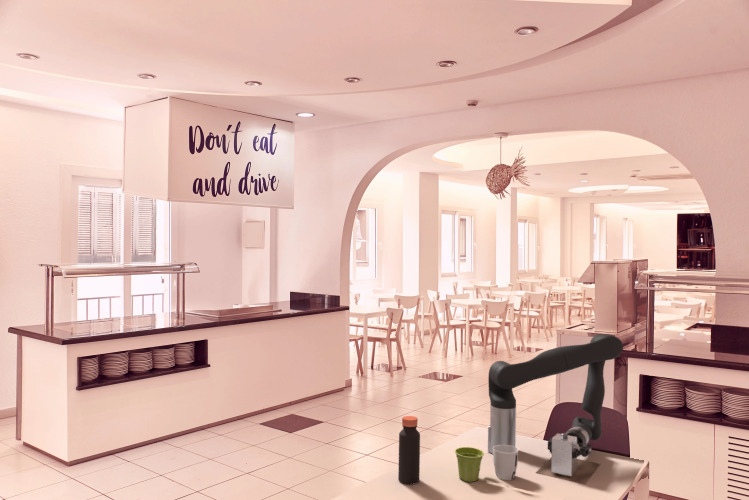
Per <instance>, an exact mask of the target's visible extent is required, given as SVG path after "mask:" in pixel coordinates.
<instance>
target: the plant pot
mask: <svg viewBox="0 0 749 500" xmlns="http://www.w3.org/2000/svg"><path fill="white" fill-rule="evenodd" d="M454 453H455V455H456V456H455V457H456V459H457V468H458V469H457V470H458V476H459V479H460V480H462V481H464V482H467V483H468V482H469V483H472V482H477V481H478V480H479V477H480V469H481V464H482V460H483V457H484V456H485V452H484V451H483V450H481V449H480V448H476V447H472V446H471V447H470V446H464V447H463V446H462V447H461V446H460V447H457V448H455V450H454Z"/></svg>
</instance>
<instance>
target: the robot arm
mask: <svg viewBox="0 0 749 500" xmlns="http://www.w3.org/2000/svg"><path fill="white" fill-rule="evenodd" d="M623 351H624V344H623V342H622V340H621V339H620V338H619V337H617V336H615V335H611V334H607V333H606V334H605V333H597V334H595V335H593V337H592V338H591V340H590V342H588V343H585V344H574V345H571V344H570V345H565V346H558V347H554V348H552V349H547V350H545V351H542V352H540V353H539V354H537V355H536V356H535V357H533V358H532V359H530V360H527V361H522V362H518V363H509V362H507V361H504V360H497V361H495V362H493V363H492V364H491V365H490V367H489V370H488V377H487V378H488V380H487V381H488V397H489V401H490V402H489V403H490V411H489V412H490V414H489V415H490V416H489V417H490V418H489V419H490V420H489V421H490V422H489V424H490V425H488V426H487V452H488V453H491V454H492V455H493V447H494V446H496V445H510V446H514V447H516V441H517V440H516V439H517V437H516V436H517V433H516V431H517V430H516V429H517V427H516V426H517V399H516V397H515V395H514V392H513V389H514V388H518V387H519V386H523V385H525V384H526V383H529V382H533V381H535V380H540V379H544V378H547V377H551V376H555V375H558V374H561V373H566V372H568V371H571V370H575V369H578V368H581V367H584V366H586V365H588V366H587V377H586V385H585V389H584V393H583V398H582V402H581V409H582V411H584V412H586V413H588V414H590V415H591V416H592V419H590V418H587V417H584V416H576V417H574V419H573V420H572V424H571V427H570V429H568V430H567V431H566V432H565V433H566V434H568V435H569V436H574V437H577V447H576V449H575V450H574V451H573V452H572V458H573V459H575V458H577V459H578V457H581V456H582V457H583V458H586V457H588V456H589V455H590V454H591V453H592V445H591V444H589V442H590V441H598V440H600V438H601V437H602V434H603V433H602V432H603V429H602V428H603V426H602V408H603V403H604V400H605V393H606V388H605V380H604V379H605V378H604V368H605V364H606V361H610V360H614V359H615V360H616V359H617V358H618V357H619V356H620V355H622V353H623ZM552 438H553V437H550V438H549V439H548V440H547V450H548V451H549V453H550V454H551V455H552Z"/></svg>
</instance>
